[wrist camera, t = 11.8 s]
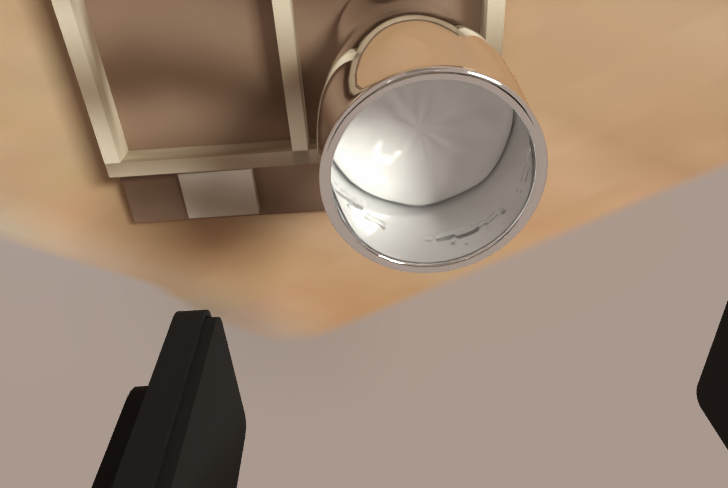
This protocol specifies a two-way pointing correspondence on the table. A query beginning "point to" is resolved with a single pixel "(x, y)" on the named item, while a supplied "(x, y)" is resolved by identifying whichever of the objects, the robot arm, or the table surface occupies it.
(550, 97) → the table surface
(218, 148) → the divided sorting tray
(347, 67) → the silver piece
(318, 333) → the table surface
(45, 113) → the table surface
